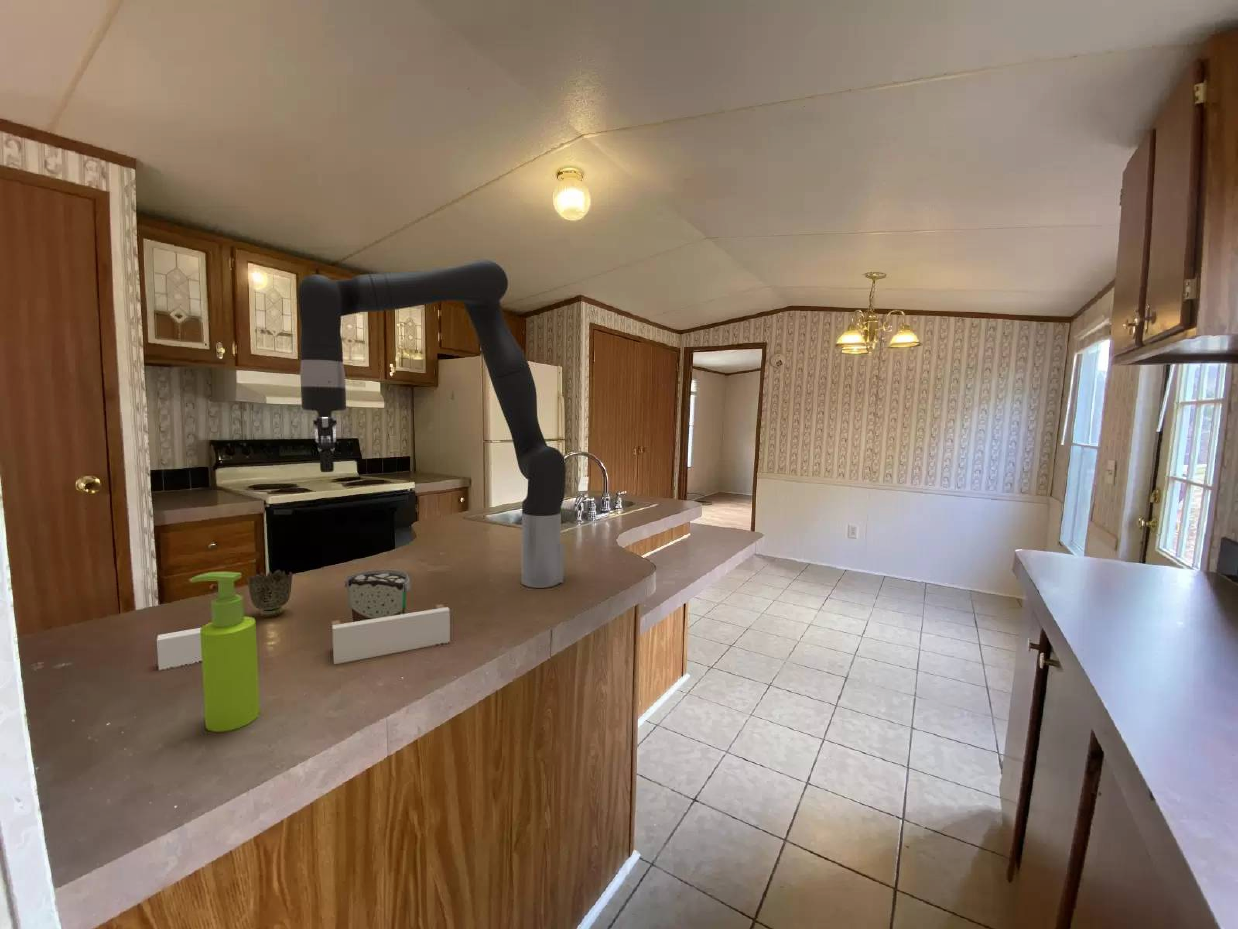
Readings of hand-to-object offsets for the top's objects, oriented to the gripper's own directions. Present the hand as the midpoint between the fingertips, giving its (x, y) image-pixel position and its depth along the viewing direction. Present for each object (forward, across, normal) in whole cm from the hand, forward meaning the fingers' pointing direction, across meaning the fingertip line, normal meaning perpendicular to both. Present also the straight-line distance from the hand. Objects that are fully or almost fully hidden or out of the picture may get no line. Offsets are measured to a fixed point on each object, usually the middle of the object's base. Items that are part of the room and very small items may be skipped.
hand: (327, 469), depth 104 cm
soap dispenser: (+30, -34, +13) cm, 47 cm away
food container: (+30, -10, -9) cm, 32 cm away
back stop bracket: (+29, -20, -9) cm, 36 cm away
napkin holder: (+30, -13, +18) cm, 37 cm away
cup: (+29, +4, +11) cm, 31 cm away
